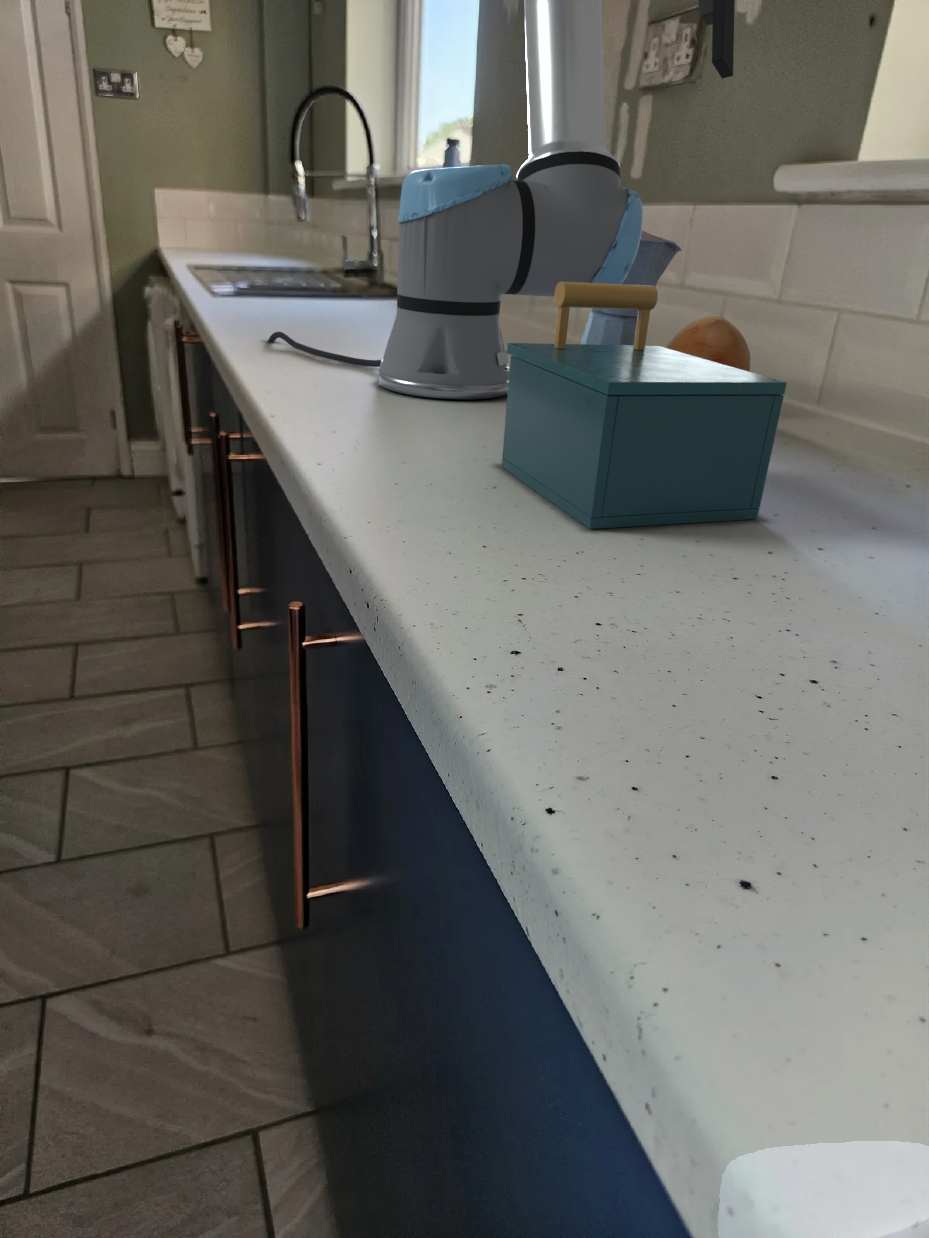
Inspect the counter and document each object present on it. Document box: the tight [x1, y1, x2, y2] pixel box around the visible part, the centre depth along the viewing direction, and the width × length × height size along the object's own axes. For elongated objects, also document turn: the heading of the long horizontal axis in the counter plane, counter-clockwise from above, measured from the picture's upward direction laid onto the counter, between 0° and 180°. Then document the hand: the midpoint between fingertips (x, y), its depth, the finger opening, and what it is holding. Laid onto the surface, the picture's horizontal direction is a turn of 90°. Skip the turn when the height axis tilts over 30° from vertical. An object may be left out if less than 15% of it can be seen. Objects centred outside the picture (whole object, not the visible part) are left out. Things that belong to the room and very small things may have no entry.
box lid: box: [506, 281, 787, 395], centre depth 62 cm, size 16×14×6 cm
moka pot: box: [580, 230, 682, 345], centre depth 114 cm, size 10×15×20 cm, turn 78°
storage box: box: [501, 355, 784, 530], centre depth 65 cm, size 16×14×9 cm
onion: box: [665, 315, 751, 372], centre depth 99 cm, size 10×10×10 cm
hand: (829, 42), depth 56 cm, fingers open, 13 cm apart
